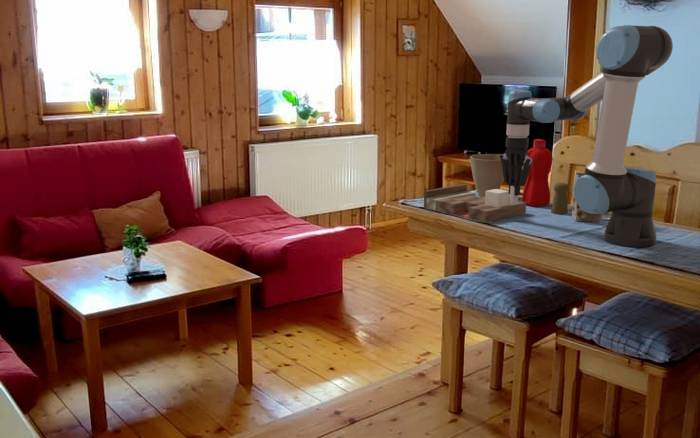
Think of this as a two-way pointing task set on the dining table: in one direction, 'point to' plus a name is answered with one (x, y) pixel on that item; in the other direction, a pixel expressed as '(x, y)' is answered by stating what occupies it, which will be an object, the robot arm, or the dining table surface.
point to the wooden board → (468, 204)
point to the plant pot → (486, 172)
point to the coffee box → (579, 213)
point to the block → (497, 198)
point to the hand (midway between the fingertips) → (513, 204)
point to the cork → (560, 199)
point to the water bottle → (538, 176)
